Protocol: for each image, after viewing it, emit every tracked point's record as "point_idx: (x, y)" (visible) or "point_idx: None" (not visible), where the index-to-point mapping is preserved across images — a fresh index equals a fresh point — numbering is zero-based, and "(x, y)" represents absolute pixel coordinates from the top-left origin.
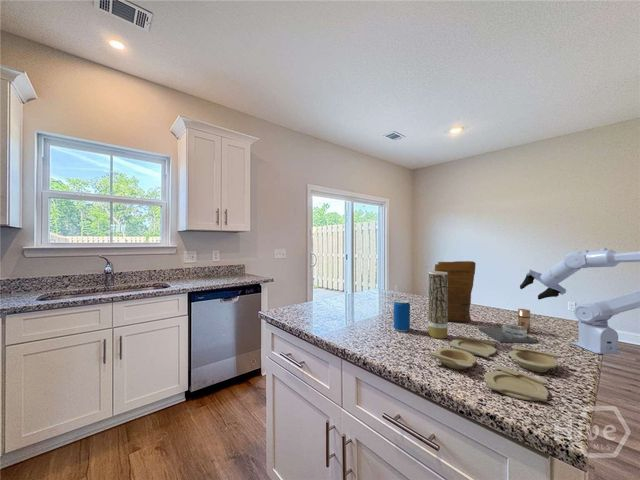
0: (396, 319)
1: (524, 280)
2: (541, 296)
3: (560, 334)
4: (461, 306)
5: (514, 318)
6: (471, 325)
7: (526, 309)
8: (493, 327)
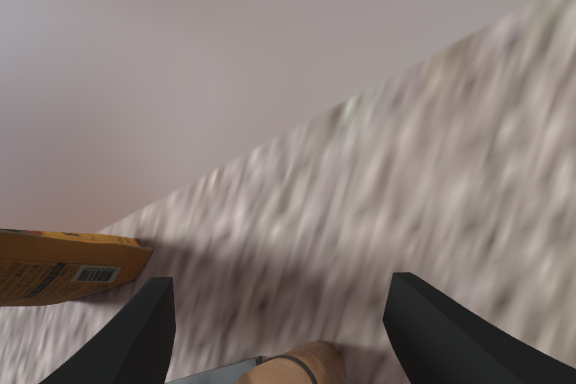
0: None
1: (82, 364)
2: (409, 358)
3: None
4: (37, 297)
5: (354, 107)
6: None
7: (289, 382)
8: (186, 377)
